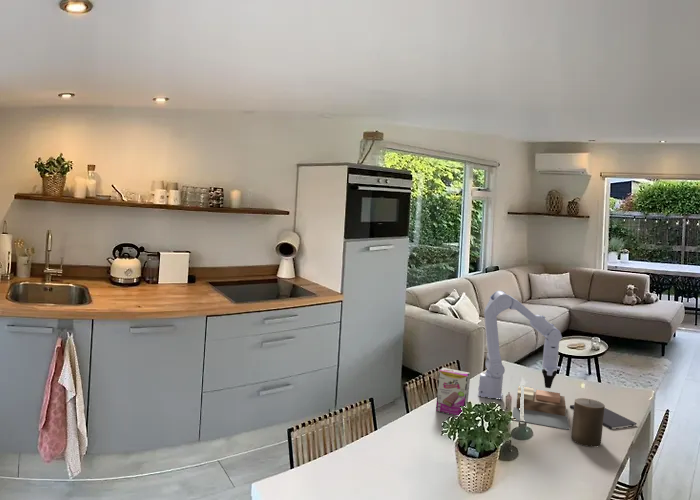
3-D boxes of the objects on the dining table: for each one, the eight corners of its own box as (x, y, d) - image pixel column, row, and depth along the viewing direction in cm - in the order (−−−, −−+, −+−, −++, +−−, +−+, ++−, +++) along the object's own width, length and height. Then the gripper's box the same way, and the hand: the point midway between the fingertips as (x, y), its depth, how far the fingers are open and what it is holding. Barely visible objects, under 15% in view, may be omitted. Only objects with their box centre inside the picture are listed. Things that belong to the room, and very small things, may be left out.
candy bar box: (435, 412, 208) (438, 370, 206) (438, 407, 212) (441, 366, 211) (464, 418, 203) (467, 375, 201) (467, 413, 208) (470, 372, 206)
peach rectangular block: (535, 399, 216) (536, 394, 216) (535, 394, 222) (536, 389, 221) (559, 403, 213) (560, 398, 213) (559, 398, 219) (559, 393, 218)
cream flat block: (533, 400, 214) (533, 395, 214) (517, 397, 216) (517, 392, 216) (533, 393, 223) (533, 388, 223) (518, 390, 225) (518, 385, 225)
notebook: (569, 408, 220) (611, 431, 200) (570, 405, 220) (612, 427, 200) (594, 406, 224) (637, 427, 204) (594, 402, 224) (637, 423, 204)
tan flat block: (516, 408, 216) (517, 398, 215) (517, 398, 227) (518, 389, 227) (564, 416, 210) (565, 406, 209) (563, 405, 221) (564, 396, 221)
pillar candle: (598, 450, 182) (603, 406, 181) (568, 441, 187) (572, 399, 186) (602, 440, 191) (607, 398, 189) (573, 432, 196) (577, 392, 194)
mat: (511, 420, 204) (512, 419, 204) (513, 407, 216) (513, 407, 216) (569, 430, 197) (569, 429, 197) (567, 417, 210) (567, 416, 210)
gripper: (561, 361, 217) (558, 394, 218) (560, 352, 231) (557, 383, 232) (542, 359, 219) (540, 391, 221) (542, 350, 233) (540, 381, 234)
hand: (547, 387), depth 226 cm, fingers closed
